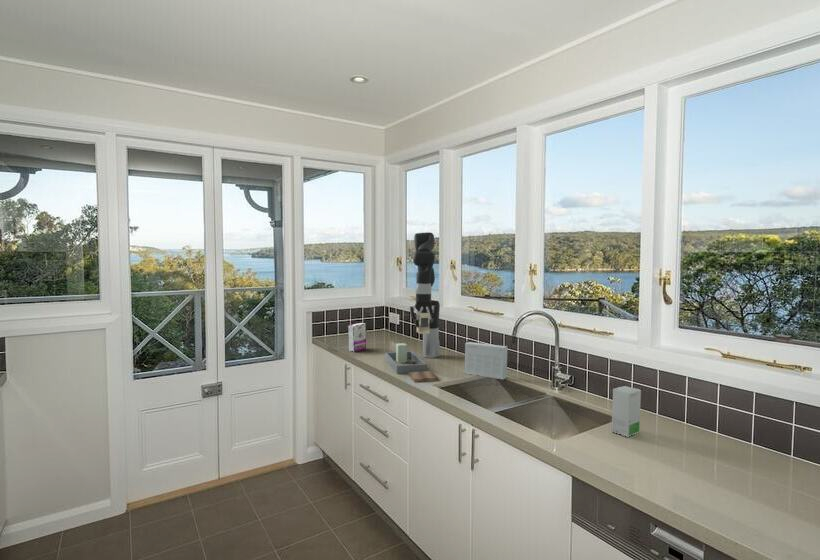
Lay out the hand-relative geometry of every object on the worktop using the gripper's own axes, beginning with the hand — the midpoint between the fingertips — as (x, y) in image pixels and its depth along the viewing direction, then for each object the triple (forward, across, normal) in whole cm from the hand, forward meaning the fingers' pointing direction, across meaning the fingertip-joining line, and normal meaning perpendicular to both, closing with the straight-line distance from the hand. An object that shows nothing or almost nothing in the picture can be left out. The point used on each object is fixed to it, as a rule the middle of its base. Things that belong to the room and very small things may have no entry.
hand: (423, 326), depth 224 cm
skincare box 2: (+26, +51, -80) cm, 99 cm away
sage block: (+25, -3, +33) cm, 42 cm away
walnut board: (+25, 0, 0) cm, 25 cm away
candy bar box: (+26, -23, +67) cm, 75 cm away
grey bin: (+25, -3, +25) cm, 36 cm away
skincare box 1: (+26, +32, -3) cm, 41 cm away
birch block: (+3, 0, 0) cm, 3 cm away
